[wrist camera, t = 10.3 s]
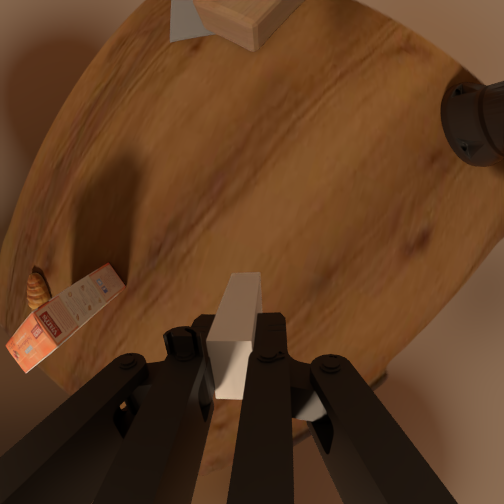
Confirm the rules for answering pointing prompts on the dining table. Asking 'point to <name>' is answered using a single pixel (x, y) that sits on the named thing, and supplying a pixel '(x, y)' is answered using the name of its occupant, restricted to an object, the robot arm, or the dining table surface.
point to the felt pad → (185, 21)
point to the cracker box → (63, 316)
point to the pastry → (37, 291)
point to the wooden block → (245, 19)
